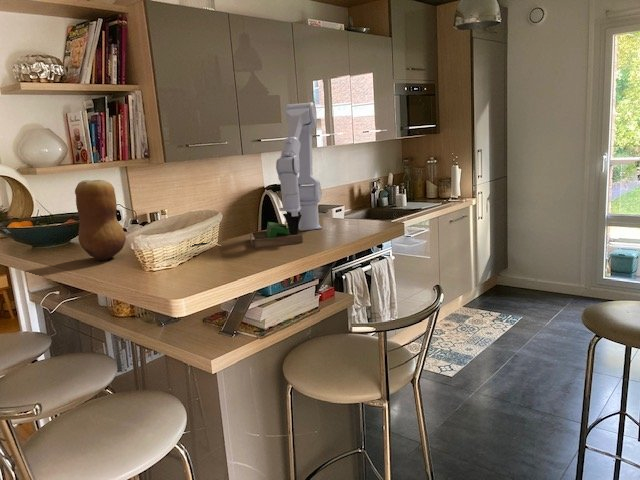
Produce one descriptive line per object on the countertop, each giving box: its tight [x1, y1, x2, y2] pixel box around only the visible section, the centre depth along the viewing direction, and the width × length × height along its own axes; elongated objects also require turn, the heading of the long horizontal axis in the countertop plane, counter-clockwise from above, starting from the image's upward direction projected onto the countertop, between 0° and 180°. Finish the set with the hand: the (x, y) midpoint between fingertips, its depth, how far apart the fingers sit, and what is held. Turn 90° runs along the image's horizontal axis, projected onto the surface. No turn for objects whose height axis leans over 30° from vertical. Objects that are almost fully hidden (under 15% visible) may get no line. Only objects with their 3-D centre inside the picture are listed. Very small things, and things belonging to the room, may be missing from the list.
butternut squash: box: [74, 179, 126, 261], centre depth 161 cm, size 14×13×25 cm
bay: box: [249, 230, 304, 249], centre depth 170 cm, size 14×16×2 cm
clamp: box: [265, 221, 289, 238], centre depth 170 cm, size 12×6×9 cm, turn 5°
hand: (293, 234), depth 171 cm, fingers closed
